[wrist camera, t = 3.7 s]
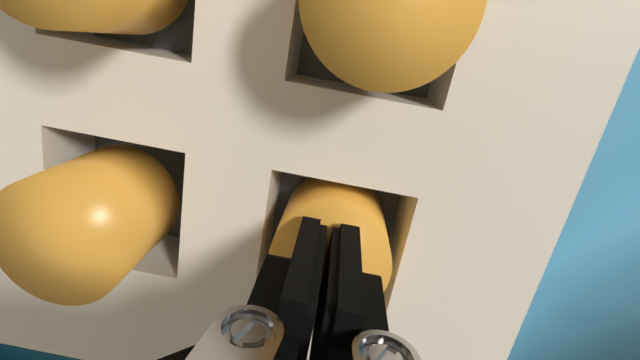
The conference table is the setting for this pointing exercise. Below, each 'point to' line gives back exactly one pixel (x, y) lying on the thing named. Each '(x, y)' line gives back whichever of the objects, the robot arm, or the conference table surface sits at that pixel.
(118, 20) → the button
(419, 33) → the button
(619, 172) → the conference table surface
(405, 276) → the console
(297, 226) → the button
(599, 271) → the conference table surface
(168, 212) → the button
